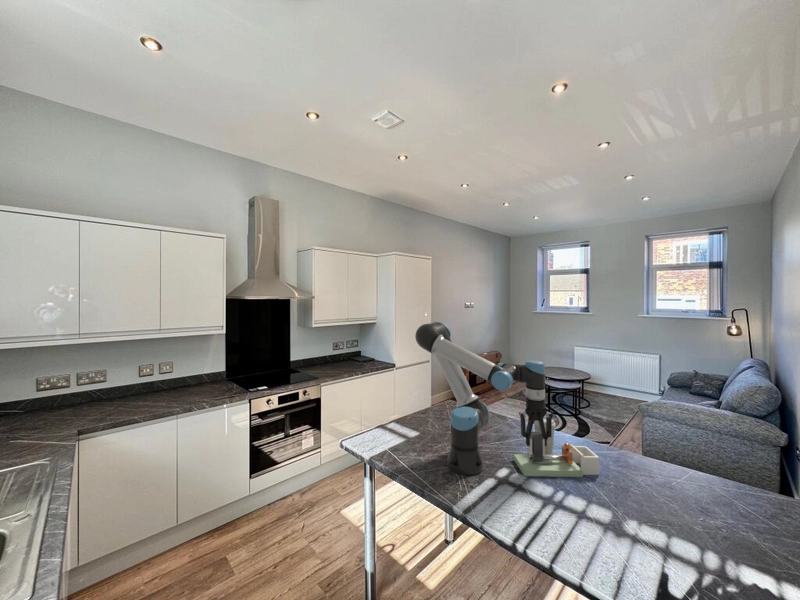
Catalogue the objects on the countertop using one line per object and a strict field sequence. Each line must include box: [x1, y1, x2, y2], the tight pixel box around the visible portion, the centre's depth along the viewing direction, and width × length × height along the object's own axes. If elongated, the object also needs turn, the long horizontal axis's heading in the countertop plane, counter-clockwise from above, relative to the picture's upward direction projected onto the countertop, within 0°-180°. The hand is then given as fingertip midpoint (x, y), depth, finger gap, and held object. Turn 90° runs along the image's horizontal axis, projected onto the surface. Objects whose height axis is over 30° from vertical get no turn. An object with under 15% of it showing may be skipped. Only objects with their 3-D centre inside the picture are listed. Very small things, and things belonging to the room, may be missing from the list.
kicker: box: [530, 431, 573, 464], centre depth 132 cm, size 16×6×11 cm, turn 87°
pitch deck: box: [513, 453, 584, 478], centre depth 132 cm, size 23×13×2 cm, turn 87°
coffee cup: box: [533, 416, 557, 455], centre depth 146 cm, size 10×10×15 cm
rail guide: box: [529, 457, 552, 464], centre depth 132 cm, size 8×4×1 cm, turn 87°
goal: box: [569, 443, 600, 476], centre depth 131 cm, size 7×10×8 cm
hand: (536, 453), depth 132 cm, fingers open, 4 cm apart
